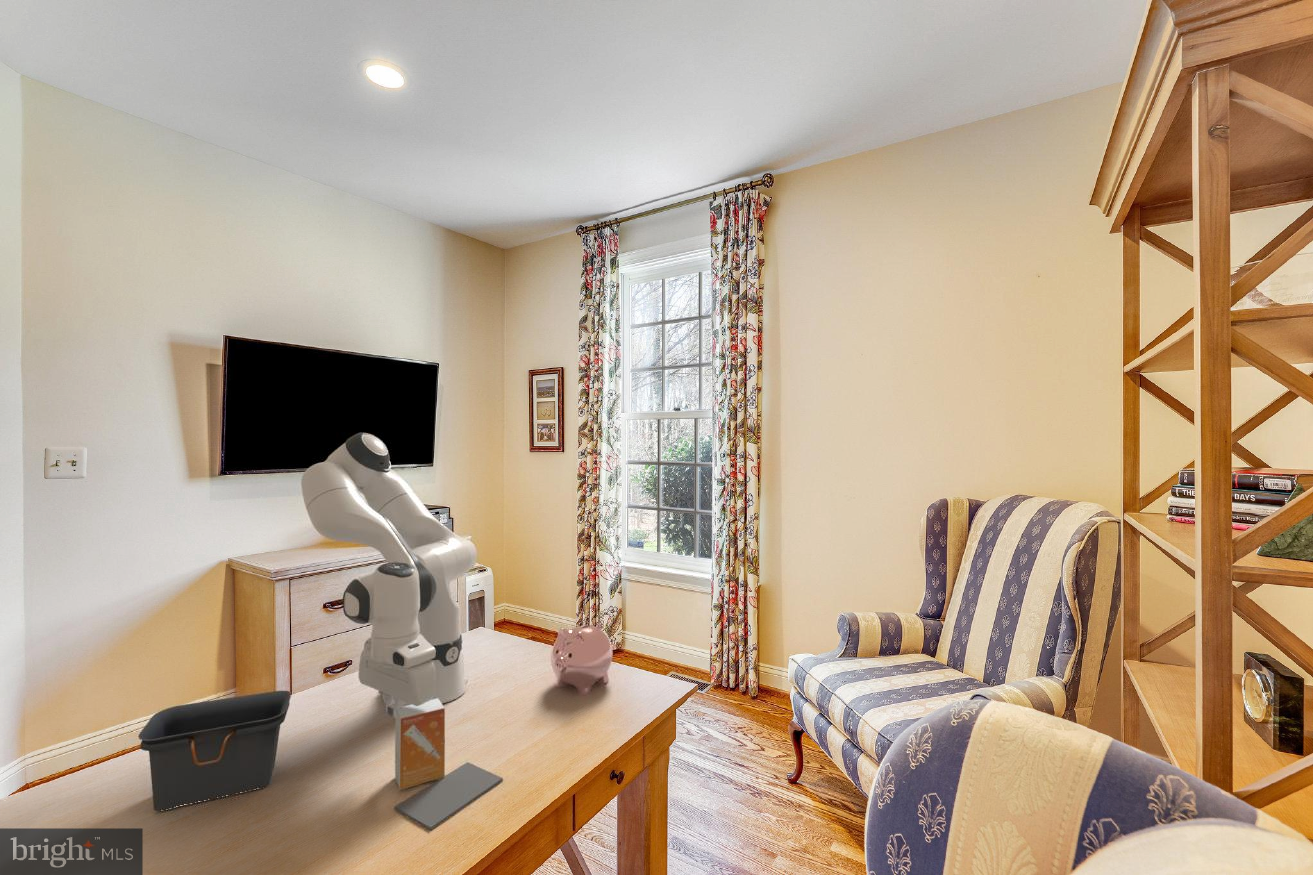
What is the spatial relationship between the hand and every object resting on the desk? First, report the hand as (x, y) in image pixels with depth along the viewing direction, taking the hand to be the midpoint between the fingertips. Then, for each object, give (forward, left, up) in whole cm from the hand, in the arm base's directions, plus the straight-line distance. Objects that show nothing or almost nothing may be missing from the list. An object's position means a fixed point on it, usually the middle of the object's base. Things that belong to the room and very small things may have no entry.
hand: (394, 714), depth 110 cm
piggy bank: (+8, +49, -10) cm, 51 cm away
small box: (+8, 0, -10) cm, 13 cm away
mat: (+17, 0, -10) cm, 20 cm away
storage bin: (-20, -22, -10) cm, 31 cm away
